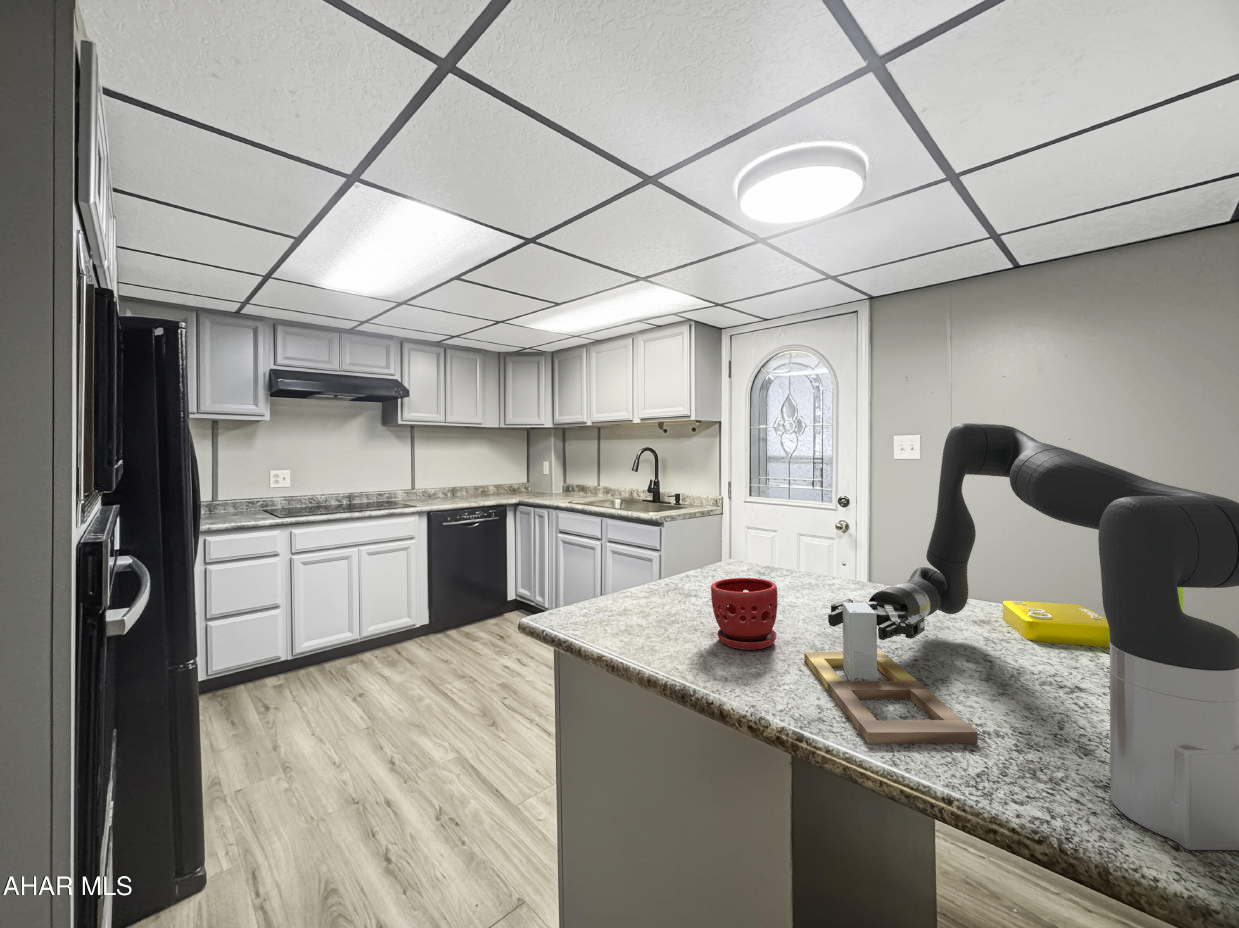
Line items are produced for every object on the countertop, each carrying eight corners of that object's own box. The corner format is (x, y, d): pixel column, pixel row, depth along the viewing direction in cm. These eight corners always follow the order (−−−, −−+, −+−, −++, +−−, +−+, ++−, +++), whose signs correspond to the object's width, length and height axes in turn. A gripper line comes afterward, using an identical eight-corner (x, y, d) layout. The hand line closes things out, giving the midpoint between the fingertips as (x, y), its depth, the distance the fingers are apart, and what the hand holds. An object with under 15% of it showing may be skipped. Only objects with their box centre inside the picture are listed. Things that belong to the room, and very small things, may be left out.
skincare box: (878, 686, 84) (877, 613, 83) (850, 684, 85) (849, 612, 84) (868, 670, 90) (867, 602, 89) (842, 669, 91) (841, 601, 90)
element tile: (1125, 650, 96) (1124, 625, 96) (1027, 643, 101) (1027, 618, 101) (1083, 624, 110) (1082, 601, 110) (999, 618, 115) (999, 597, 115)
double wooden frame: (977, 743, 67) (977, 731, 67) (868, 743, 68) (867, 732, 68) (882, 659, 94) (882, 651, 94) (804, 660, 95) (804, 652, 95)
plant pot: (777, 632, 109) (776, 576, 109) (779, 657, 97) (778, 593, 96) (715, 628, 113) (713, 574, 113) (709, 651, 100) (707, 590, 100)
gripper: (861, 579, 101) (815, 595, 91) (941, 594, 90) (898, 614, 80) (862, 617, 102) (816, 637, 92) (942, 636, 90) (899, 662, 80)
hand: (854, 626), depth 86 cm, fingers open, 8 cm apart
